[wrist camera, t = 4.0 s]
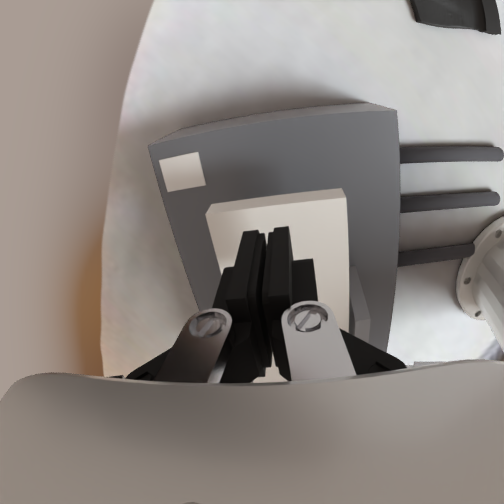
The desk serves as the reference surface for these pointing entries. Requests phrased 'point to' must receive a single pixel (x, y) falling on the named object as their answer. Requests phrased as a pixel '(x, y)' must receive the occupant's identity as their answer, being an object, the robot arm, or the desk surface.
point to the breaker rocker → (293, 241)
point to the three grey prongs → (445, 197)
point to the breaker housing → (292, 191)
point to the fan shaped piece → (459, 14)
